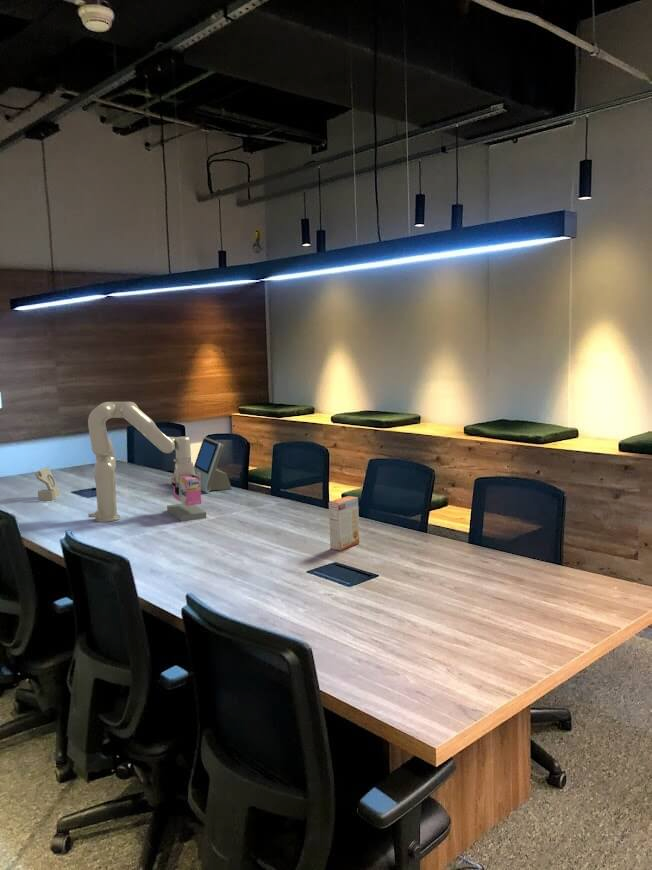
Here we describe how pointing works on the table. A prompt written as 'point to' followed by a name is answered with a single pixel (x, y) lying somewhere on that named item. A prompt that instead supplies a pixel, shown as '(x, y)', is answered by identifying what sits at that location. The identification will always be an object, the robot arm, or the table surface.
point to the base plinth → (186, 512)
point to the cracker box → (344, 523)
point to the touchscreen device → (210, 467)
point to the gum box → (188, 490)
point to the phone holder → (51, 485)
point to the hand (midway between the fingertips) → (185, 493)
